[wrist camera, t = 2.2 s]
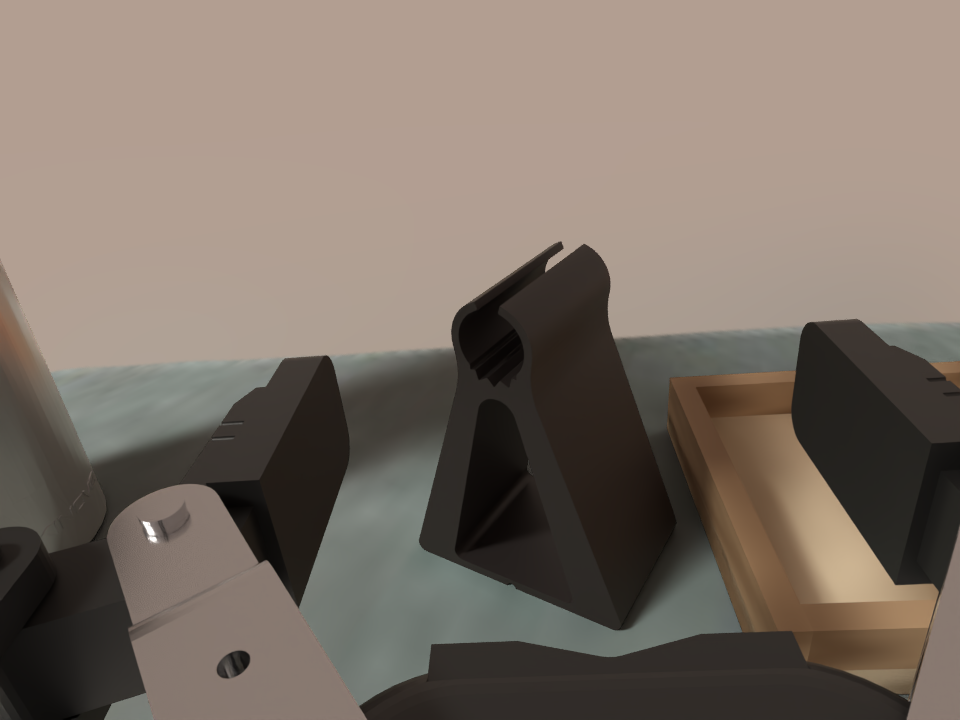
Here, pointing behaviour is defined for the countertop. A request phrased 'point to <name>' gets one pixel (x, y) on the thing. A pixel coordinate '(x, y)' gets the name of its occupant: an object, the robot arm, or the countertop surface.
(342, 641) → the countertop surface
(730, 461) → the shallow tray
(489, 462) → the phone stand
